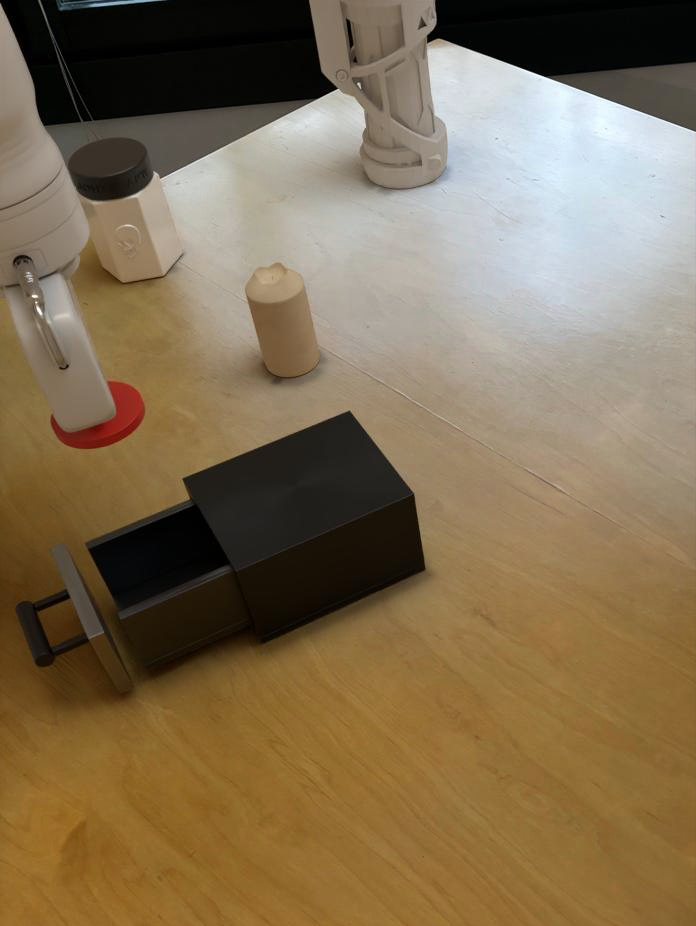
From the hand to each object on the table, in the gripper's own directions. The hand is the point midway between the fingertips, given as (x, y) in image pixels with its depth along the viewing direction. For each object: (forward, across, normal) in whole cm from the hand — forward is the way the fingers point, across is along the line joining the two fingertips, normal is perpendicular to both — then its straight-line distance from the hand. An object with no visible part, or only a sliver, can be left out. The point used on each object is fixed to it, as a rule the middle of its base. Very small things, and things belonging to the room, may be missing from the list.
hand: (90, 400), depth 76 cm
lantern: (+18, +50, -40) cm, 67 cm away
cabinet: (+18, -5, -12) cm, 22 cm away
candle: (+18, +21, -18) cm, 33 cm away
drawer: (+17, -7, +2) cm, 18 cm away
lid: (+2, 0, 0) cm, 2 cm away
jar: (+18, +46, -9) cm, 50 cm away
